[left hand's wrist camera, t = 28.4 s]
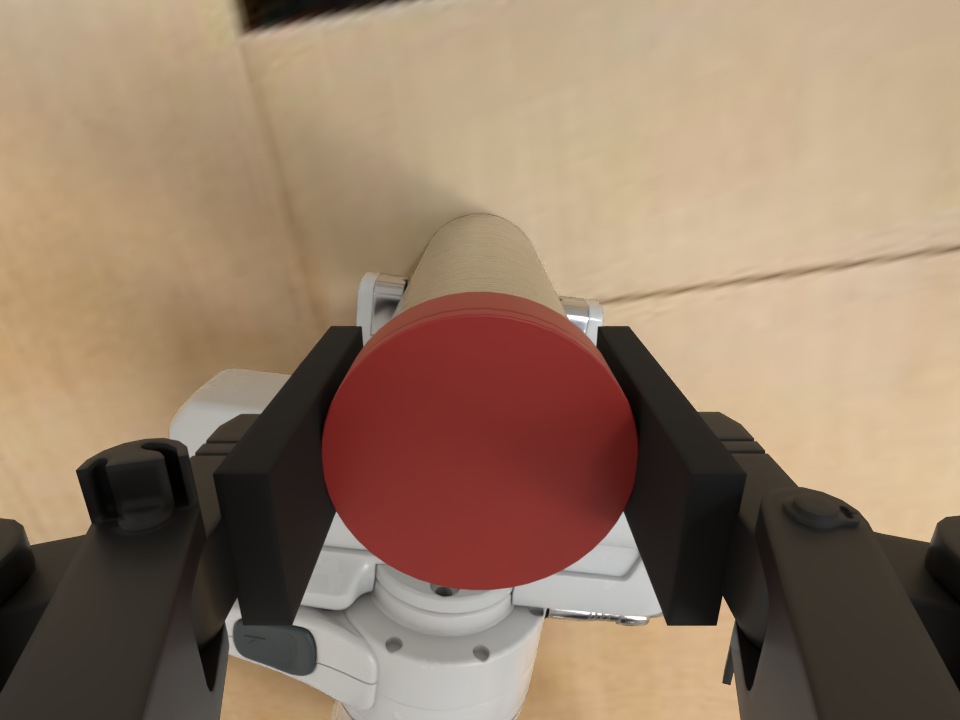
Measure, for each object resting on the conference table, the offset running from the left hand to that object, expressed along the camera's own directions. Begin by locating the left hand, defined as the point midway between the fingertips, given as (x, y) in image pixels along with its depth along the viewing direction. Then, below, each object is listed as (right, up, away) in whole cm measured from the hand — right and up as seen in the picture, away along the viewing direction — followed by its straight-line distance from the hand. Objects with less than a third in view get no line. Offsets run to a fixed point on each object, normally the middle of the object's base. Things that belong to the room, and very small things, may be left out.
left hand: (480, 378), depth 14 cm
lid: (0, -1, -3) cm, 4 cm away
